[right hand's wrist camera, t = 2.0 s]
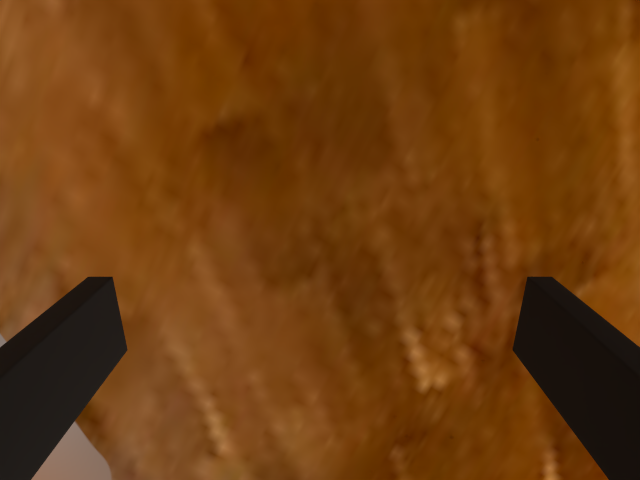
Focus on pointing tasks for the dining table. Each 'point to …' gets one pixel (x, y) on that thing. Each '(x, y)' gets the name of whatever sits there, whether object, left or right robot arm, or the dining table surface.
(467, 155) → the dining table surface
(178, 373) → the dining table surface
